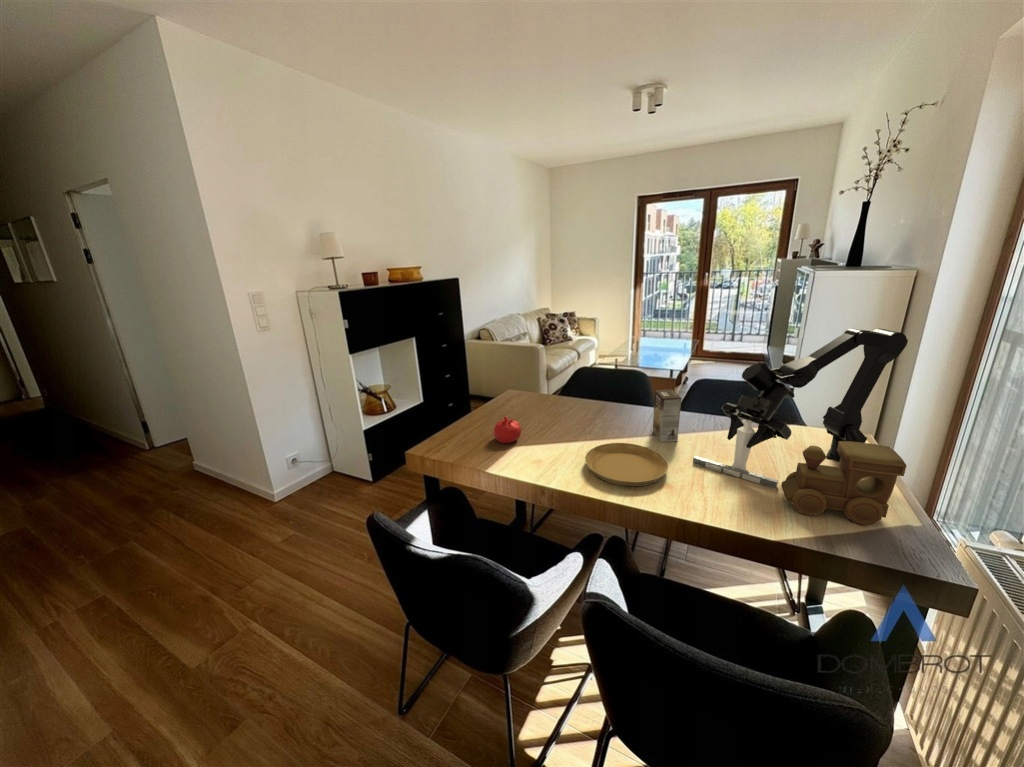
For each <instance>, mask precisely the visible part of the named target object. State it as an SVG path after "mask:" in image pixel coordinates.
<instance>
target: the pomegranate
mask: <svg viewBox="0 0 1024 767" xmlns="http://www.w3.org/2000/svg"><path fill="white" fill-rule="evenodd" d="M509 418H510V417H508V416H503V419H502V418H498V419H499V421H497V423H496V424H495V425H494V428H493V436H494V438H495V440H496V441H497V442H499V443H501V444H510V443H513V442H516V441H517V440H519V439H520V436H521V433H522V427H521V425H520V423H519V422H518V421H516V419H514V418H511V419H509Z"/></svg>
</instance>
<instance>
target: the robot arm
mask: <svg viewBox="0 0 1024 767" xmlns="http://www.w3.org/2000/svg"><path fill="white" fill-rule="evenodd" d="M908 342H909V339H908V338H907V335H906V334H905V333H903V332H901V331H895V330H889V329H885V328H877V329H874V330H866V329H865V330H864V329H857V328H849V329H846V330H845V331H844V332H843V333H842V334H841V335H839V336H838V337H836V338H835V339H833V340H832V341H830V342H828V343H826V344H824V345H823V346H822V347H820V348H819V349H817V350H815V351H814V352H812V353H810V354H809V355H807V356H805V357H802V358H798V359H794V360H791V361H788V362H787V363H784V364H783V365H781V366H780V367H776V368H772V369H770V368H769V367H768V365H767V364H766V363H765V362H764V361H760V360H759V362H757V363H754V364H751V365H750V366H748V367H747V366H746V368H745V369H744V370H743V372H742V374H741V379H743V381H745V382H747V383H748V384H749V386H750V387H752V388H753V389H754V390H755V391H759V392H760V393H759V395H754V396H753V397H749V396H746V395H743V394H741V396H740V398H739V401H738V403H737V404H733V403H730V402H726V403H724V404H723V405H722V407H721V409H720V410H722V412H723V413H724V414H725V415H726V416H727V418H729V419H730V425H729V430H728V433H727V438H726V439H727V440H728V441H730V440H732V439H733V438H734V437H735V436H737V429H738V428H740V427H742V426H744V422H743V421H744V420H750V421H752V422H753V423H754V424H757V425H758V426H757V430H756V431H755V434H754V435H753V437H752V438H751V439H750V441H749V442H748V444H747V446H746V447H747V448H751V449H752V448H753V447H754V446H756V445H758V444H760V443H763V442H765V441H767V440H769V439H772V438H773V439H777V437H778V438H781V439H783V440H789V439H790V437H791V435H792V430H791V428H790V426H789V425H788V424H787V422H786V421H783V420H780V419H778V418H775V417H772V416H773V415H774V414H776V415H777V414H778V413H779V409H778V408H779V407H780V405H781V404H782V403H783V401H784V399H786V398H793V399H794V398H795V393H794V389H793V388H795V389H800V388H804V387H806V386H807V385H808V384H809V383H811V382H812V381H813V380H814V379H815V378H816V377H817V374H818V373H819V371H821V370H822V369H824V368H826V367H827V366H828V365H830V364H832V363H833V362H836V361H837V360H838V359H840V358H841V357H843V356H845V355H846V354H848V353H849V352H851V351H852V350H855V349H856V348H858V347H859V346H861V345H862V346H863V354H864V355H863V356H864V358H863V360H862V362H861V364H860V366H859V368H858V370H857V372H856V374H855V375H854V377H853V380H852V381H851V383H850V385H849V387H848V389H847V390H846V392H845V395H844V396H843V398H842V400H841V402H840V403H839V404H838V405H836V406H835V407H833V406H828V408H827V409H826V410H827V411H825V414H824V415H823V416H822V419H823V421H822V425H823V426H824V428H825V429H826V432H827V434H829V435H831V436H832V439H831V445H830V448H829V450H828V451H827V453H826V454H825V455H826V458H827V459H831V460H835V461H838V462H840V458H841V457H840V456H839V454H838V452H837V447H838V442H839V441H848V442H860V443H867V442H866V441H867V440H868V437H867V436H866V435H865V434H864V433H863V432H862V431H861V430H860V429H861V426H862V423H863V416H862V409H863V408H864V406H865V404H866V402H867V400H868V399H869V396H870V395H871V393H872V391H873V390H874V388H875V385H876V384H877V382H878V381H879V379H880V377H881V375H882V373H883V371H884V369H885V367H886V366H887V365H888V364H889V363H890V362H892V361H894V360H895V359H897V358H898V357H899V356H900V355H901V354H902V352H903V351H905V350H904V349H906V347H907V345H908ZM786 385H789V386H791V387H788V386H786ZM792 387H793V388H792ZM739 406H740V407H743V410H744V411H743V410H742V409H741V408H740V407H739Z"/></svg>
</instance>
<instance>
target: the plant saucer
mask: <svg viewBox="0 0 1024 767" xmlns="http://www.w3.org/2000/svg"><path fill="white" fill-rule="evenodd" d="M584 458H585V459H584V461H585V464H586V465H587V467H588V469H589V470H590V471H591V472H592V474H594V475H595V476H596V477H597V478H599V479H602V481H603V480H604V481H605V482H608V483H610V484H613V485H617V486H624V487H643V486H645V485H649V484H653V483H655V482H657V481H659V480H660V479H661V478H663V477H664V476H665V475H666V473H667V472H668V469H669V463H668V461H667V460H666V457H664V456H663V455H662V454H661V453H659V452H658V451H656V450H654V449H653V448H649V447H646V446H644V445H640V444H635V443H628V442H611V443H610V442H609V443H604V444H600V445H596V446H594V447H593V448H591V449H590V450H588V452H587V453H586V455H585V457H584Z"/></svg>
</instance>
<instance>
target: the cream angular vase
mask: <svg viewBox="0 0 1024 767" xmlns="http://www.w3.org/2000/svg"><path fill="white" fill-rule="evenodd" d="M753 423H754V422H752V421H750V420H745V419H743V424H744V426H742V427H740V428H738V429H737V434H736V438H735V448H734V459H733V463H732V465H731V466H732V467H736V468H739V469H742V470H746V471H747V462H748V460H749V455H750V453H751V449H752V447H751V448H747V447H746V446H747V444H748V442H749V441H750V439H751V438H752V437H753V435H754V434H755V433H756V431H755V430H754V428H752V424H753Z"/></svg>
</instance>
